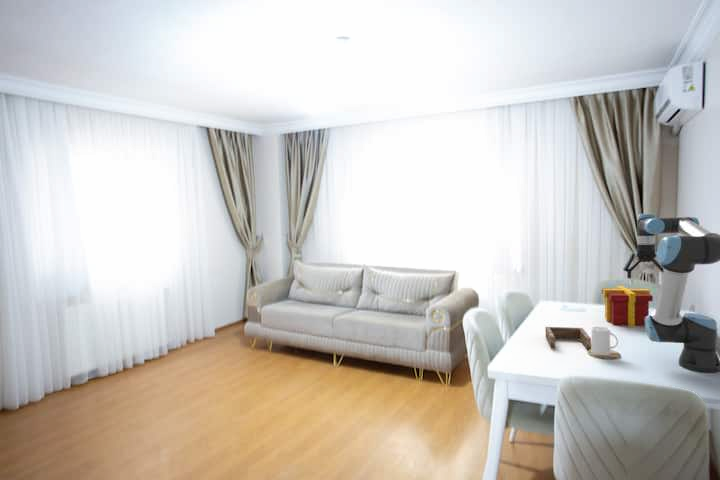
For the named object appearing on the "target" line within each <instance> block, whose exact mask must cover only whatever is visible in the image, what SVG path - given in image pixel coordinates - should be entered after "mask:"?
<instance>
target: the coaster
mask: <svg viewBox="0 0 720 480" xmlns="http://www.w3.org/2000/svg"><path fill="white" fill-rule="evenodd" d="M591 349H592V348H591ZM591 349H590V350H587V354H588V356H590V357H593V358H595V359H600V360H617V359H620V358H621V353H619V352H618V351H616V350H613V349H610V352H611V354H609V355H597V354H594V353H592V352H591Z"/></svg>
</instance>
